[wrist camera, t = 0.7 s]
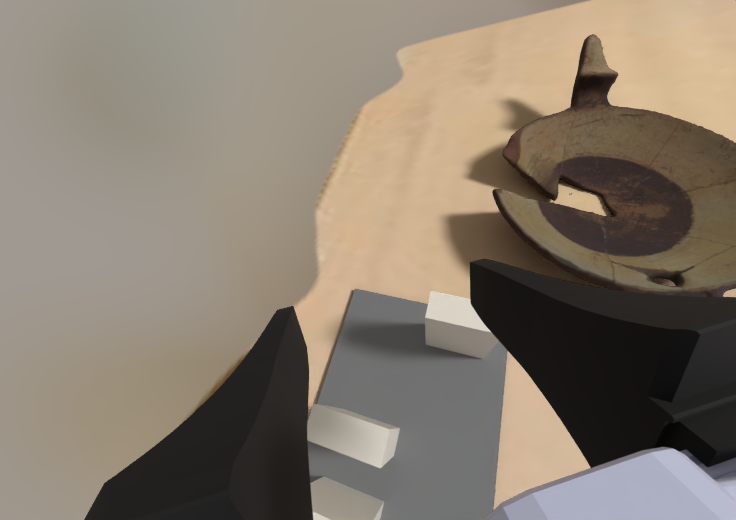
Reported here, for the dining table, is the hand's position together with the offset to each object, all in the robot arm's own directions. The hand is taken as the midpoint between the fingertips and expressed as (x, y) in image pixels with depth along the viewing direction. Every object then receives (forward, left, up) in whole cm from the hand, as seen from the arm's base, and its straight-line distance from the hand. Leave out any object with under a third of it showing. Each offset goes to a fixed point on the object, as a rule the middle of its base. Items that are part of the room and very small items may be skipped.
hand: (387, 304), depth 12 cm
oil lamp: (+5, -28, -18) cm, 34 cm away
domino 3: (0, -5, -17) cm, 18 cm away
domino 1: (-2, +5, -17) cm, 18 cm away
